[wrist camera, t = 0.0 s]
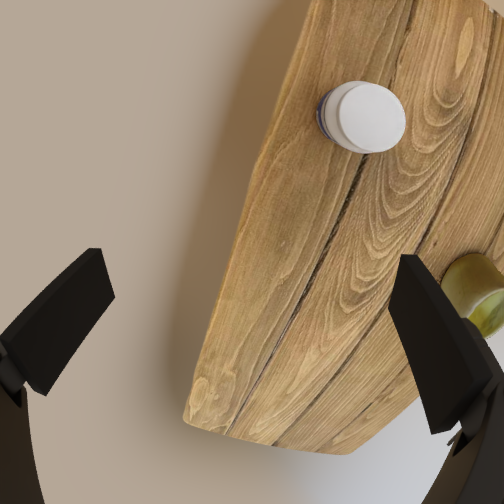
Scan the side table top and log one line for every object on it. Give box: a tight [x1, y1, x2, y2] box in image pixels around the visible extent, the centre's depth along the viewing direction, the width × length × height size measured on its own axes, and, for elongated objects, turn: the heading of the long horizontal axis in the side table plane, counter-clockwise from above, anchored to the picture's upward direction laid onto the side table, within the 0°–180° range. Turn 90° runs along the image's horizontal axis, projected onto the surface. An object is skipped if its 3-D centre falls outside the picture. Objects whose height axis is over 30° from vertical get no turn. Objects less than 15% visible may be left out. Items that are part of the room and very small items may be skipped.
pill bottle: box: [316, 81, 406, 153], centre depth 20 cm, size 6×6×10 cm
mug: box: [441, 253, 504, 339], centre depth 28 cm, size 12×10×10 cm
